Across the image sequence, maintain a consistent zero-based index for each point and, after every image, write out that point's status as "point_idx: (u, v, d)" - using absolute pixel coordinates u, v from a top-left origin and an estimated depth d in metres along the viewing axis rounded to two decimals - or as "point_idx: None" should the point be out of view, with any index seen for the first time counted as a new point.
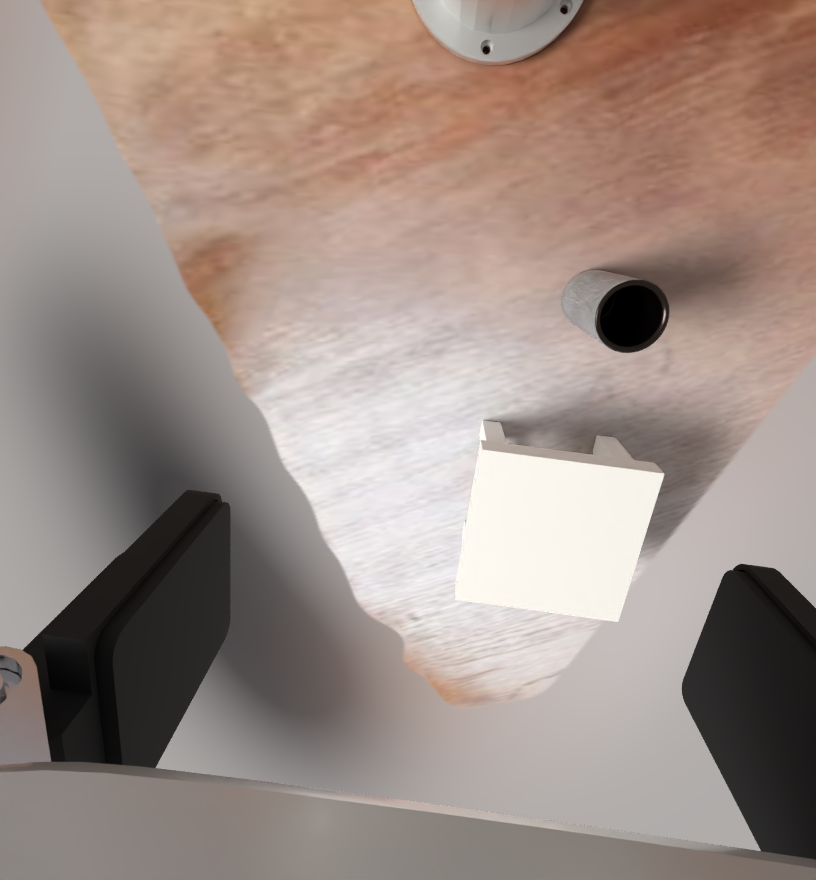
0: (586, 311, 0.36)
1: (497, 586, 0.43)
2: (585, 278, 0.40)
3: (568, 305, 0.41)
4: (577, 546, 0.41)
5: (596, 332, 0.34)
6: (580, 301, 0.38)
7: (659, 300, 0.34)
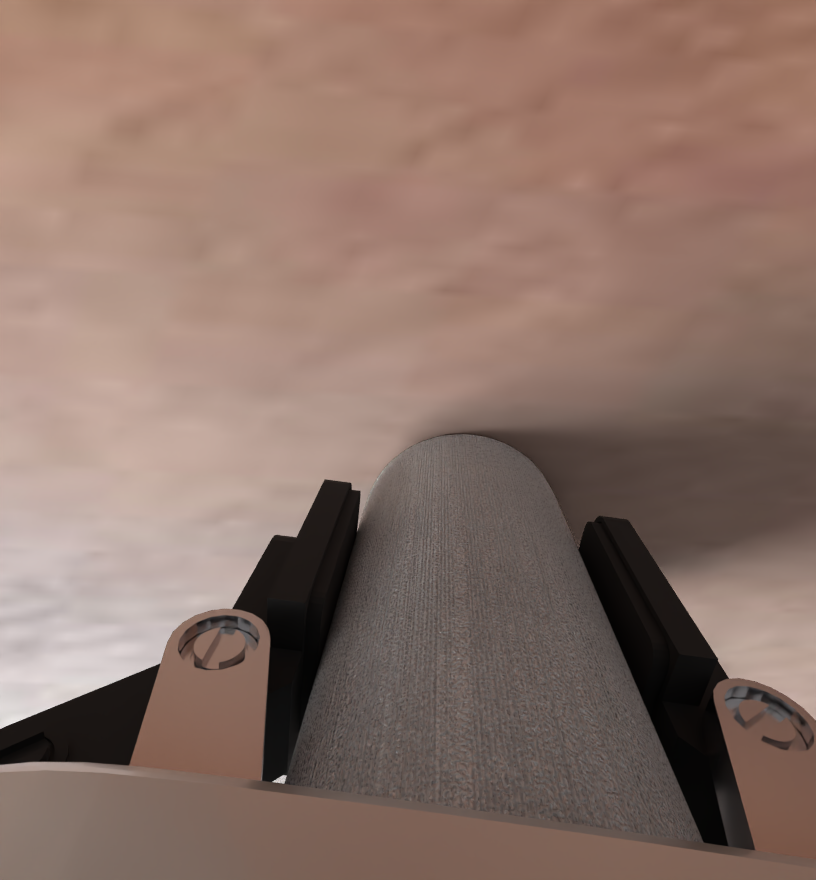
0: None
1: None
2: (387, 520, 0.09)
3: None
4: None
5: None
6: None
7: None
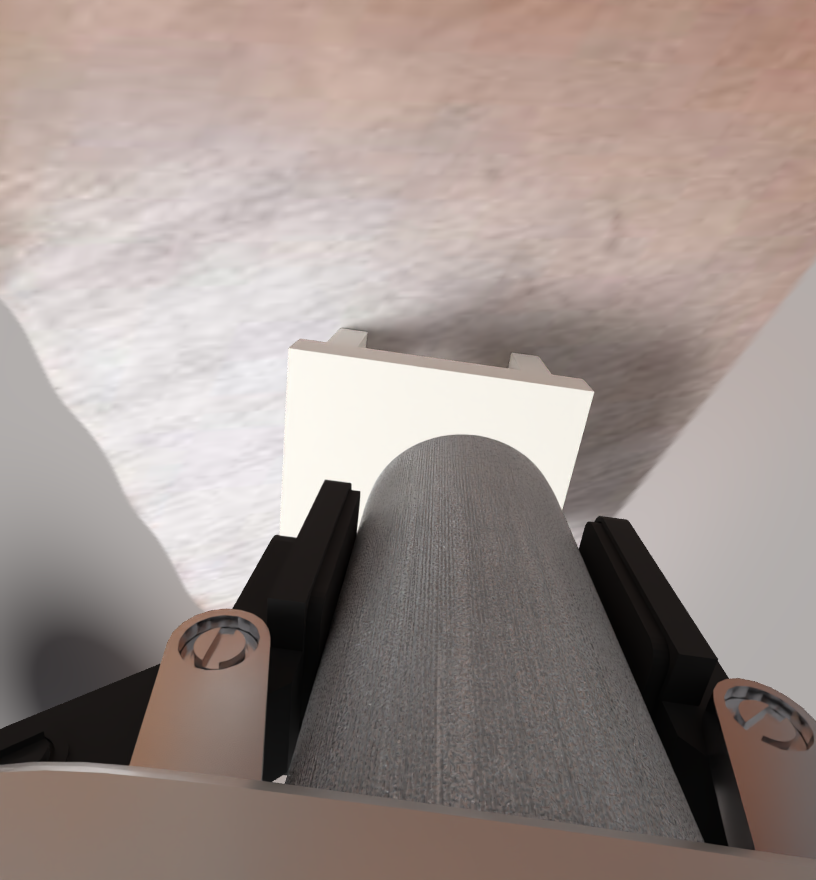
0: None
1: None
2: (387, 521, 0.09)
3: None
4: None
5: None
6: None
7: None
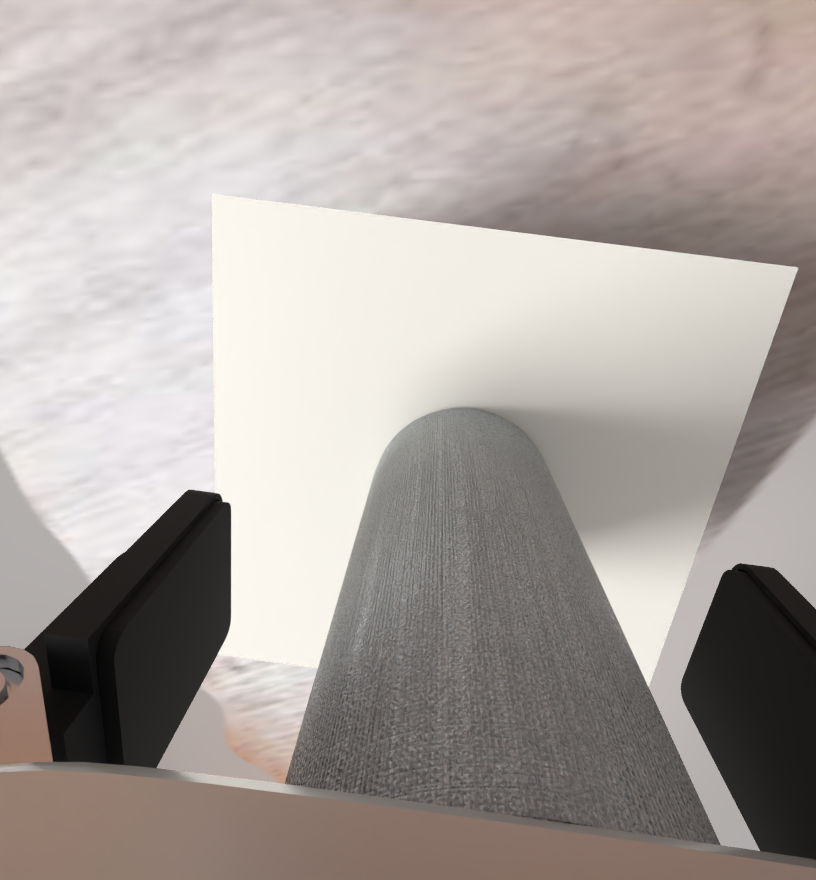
0: None
1: (318, 621, 0.16)
2: (397, 476, 0.11)
3: None
4: None
5: None
6: (331, 622, 0.09)
7: None
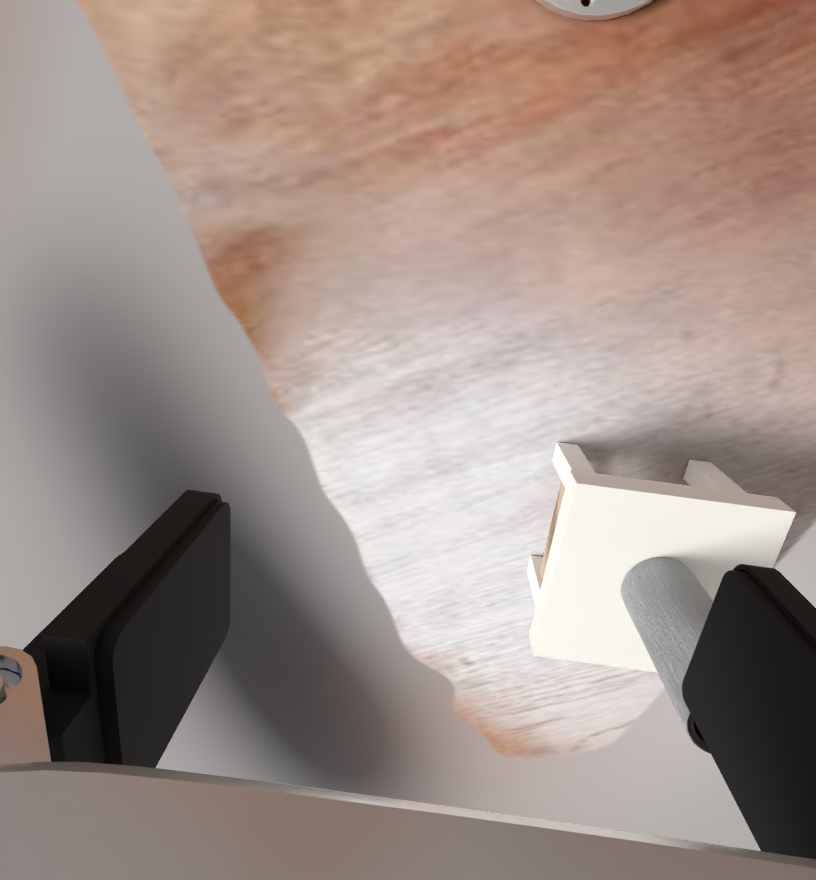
0: (669, 682, 0.27)
1: (584, 640, 0.36)
2: (658, 594, 0.31)
3: (633, 615, 0.32)
4: None
5: None
6: (656, 646, 0.29)
7: None
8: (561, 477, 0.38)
